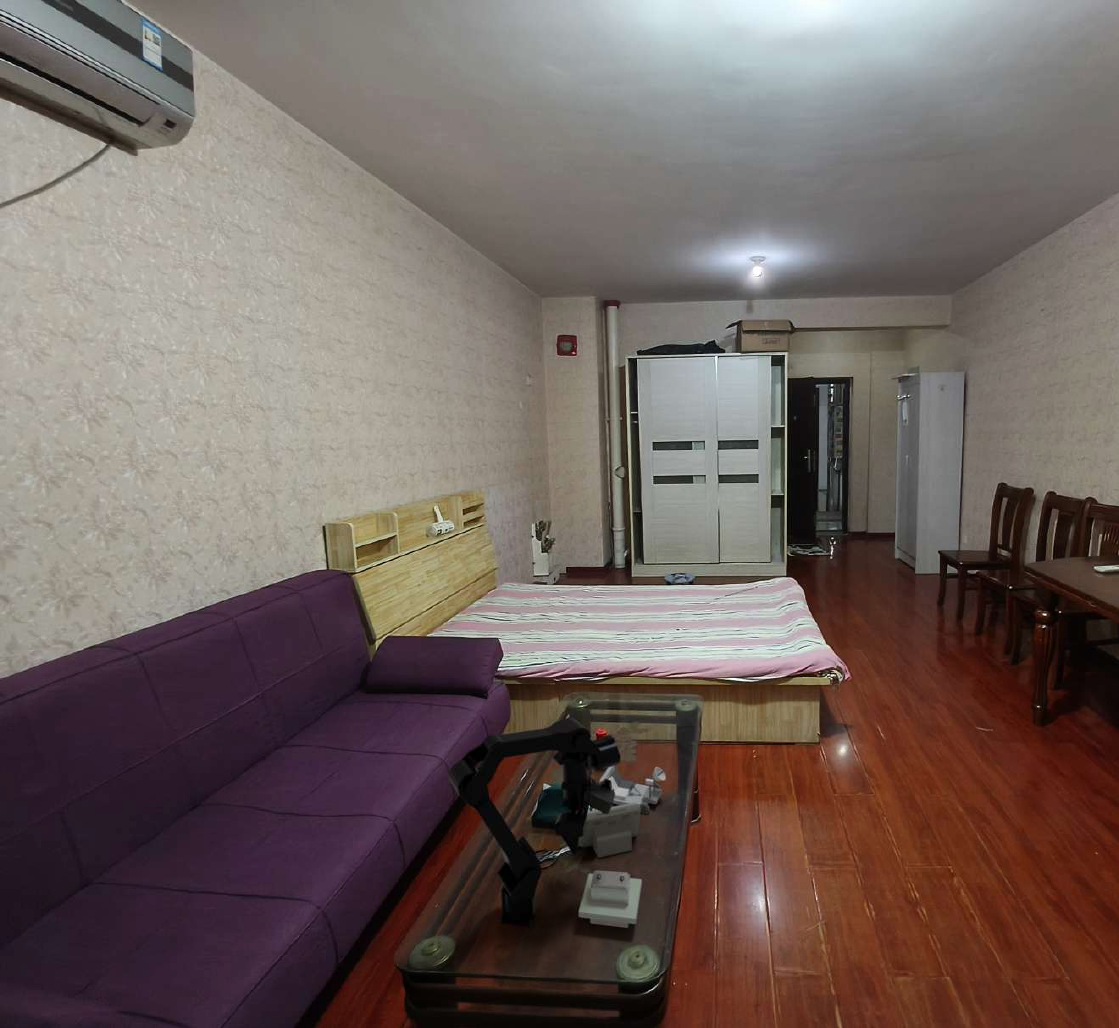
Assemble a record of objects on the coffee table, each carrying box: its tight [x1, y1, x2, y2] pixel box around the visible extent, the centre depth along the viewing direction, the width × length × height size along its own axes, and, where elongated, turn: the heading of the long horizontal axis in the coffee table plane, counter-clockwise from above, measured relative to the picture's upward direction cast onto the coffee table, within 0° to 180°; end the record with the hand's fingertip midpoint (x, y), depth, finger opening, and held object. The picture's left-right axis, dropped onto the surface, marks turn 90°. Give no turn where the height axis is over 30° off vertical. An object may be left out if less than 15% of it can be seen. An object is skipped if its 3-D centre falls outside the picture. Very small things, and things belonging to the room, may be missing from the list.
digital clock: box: [578, 803, 641, 859], centre depth 165 cm, size 16×9×11 cm, turn 93°
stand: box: [578, 873, 643, 929], centre depth 143 cm, size 12×12×4 cm
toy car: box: [598, 765, 667, 815], centre depth 185 cm, size 18×10×12 cm
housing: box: [591, 870, 631, 905], centre depth 143 cm, size 5×8×4 cm, turn 80°
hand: (578, 840), depth 149 cm, fingers open, 9 cm apart
